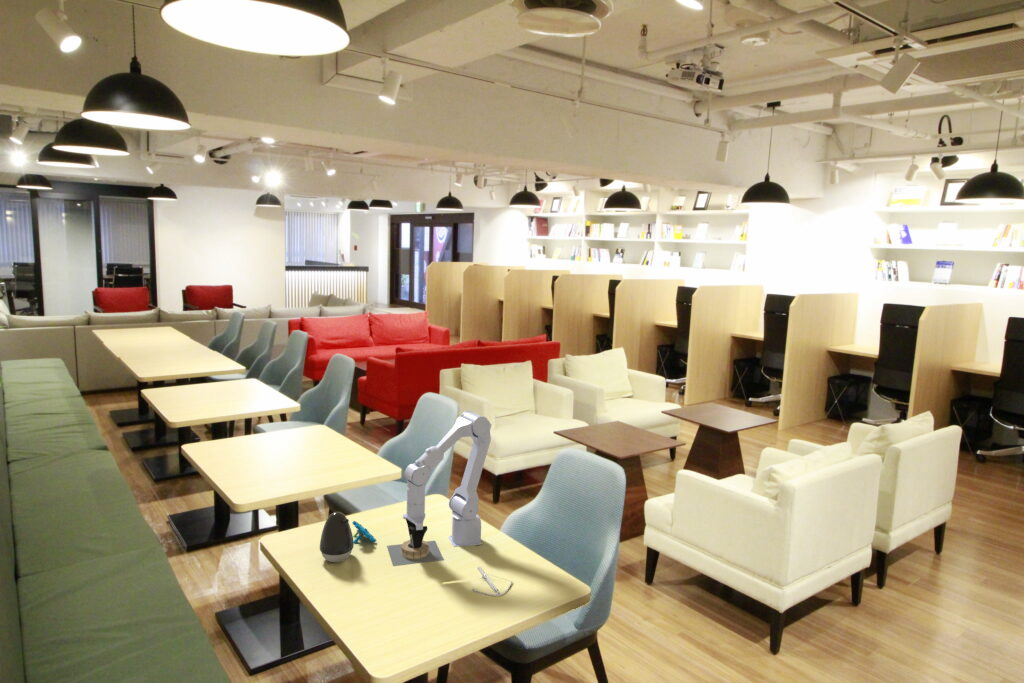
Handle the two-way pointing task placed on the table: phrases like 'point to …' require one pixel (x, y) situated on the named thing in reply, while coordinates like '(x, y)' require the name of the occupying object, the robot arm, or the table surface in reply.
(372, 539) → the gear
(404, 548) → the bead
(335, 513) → the pump dispenser
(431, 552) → the mat
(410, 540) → the peg
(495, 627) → the table surface
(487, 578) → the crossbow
